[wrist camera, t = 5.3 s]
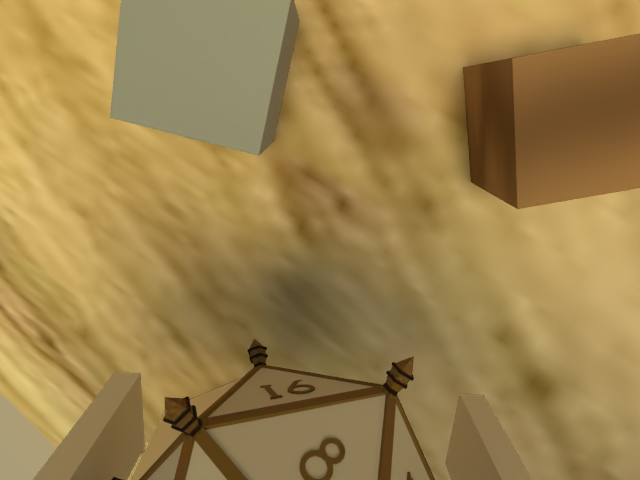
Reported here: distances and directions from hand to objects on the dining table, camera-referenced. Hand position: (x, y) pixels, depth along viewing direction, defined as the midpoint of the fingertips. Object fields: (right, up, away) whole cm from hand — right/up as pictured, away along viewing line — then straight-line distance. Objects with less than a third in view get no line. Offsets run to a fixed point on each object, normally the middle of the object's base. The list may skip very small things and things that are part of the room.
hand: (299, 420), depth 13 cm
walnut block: (+10, +11, +5) cm, 16 cm away
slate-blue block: (-3, +13, +5) cm, 14 cm away
